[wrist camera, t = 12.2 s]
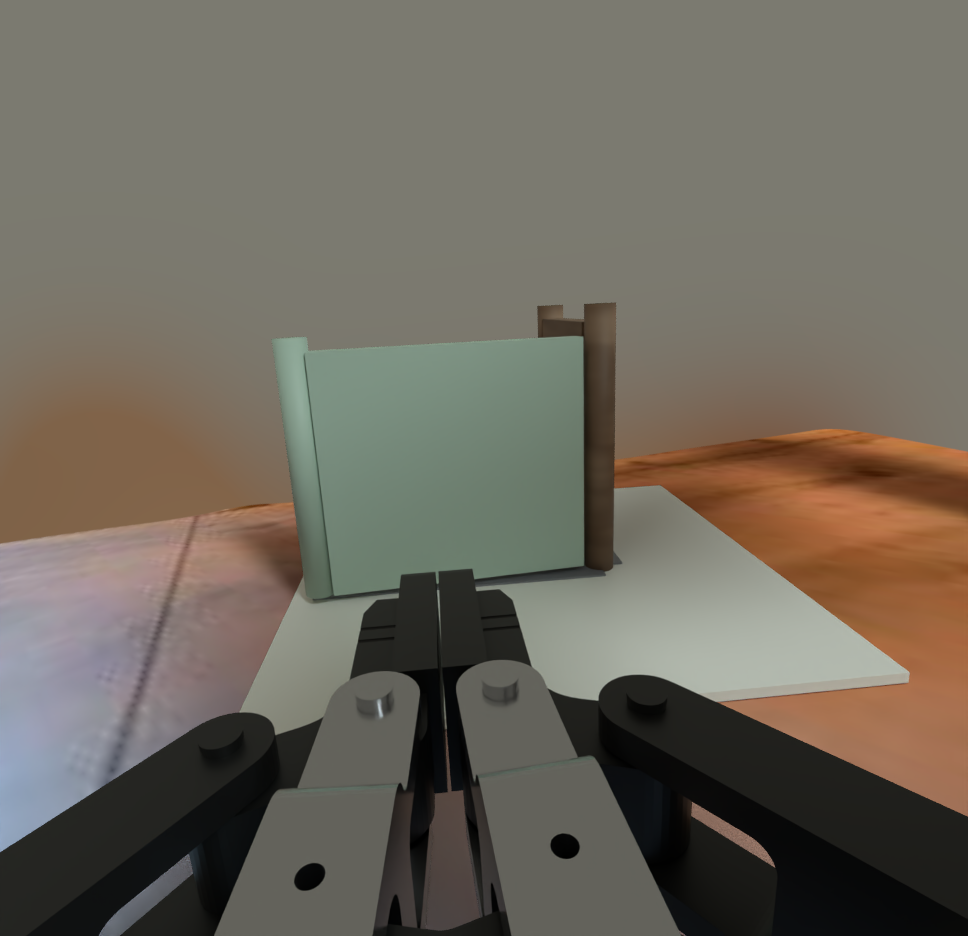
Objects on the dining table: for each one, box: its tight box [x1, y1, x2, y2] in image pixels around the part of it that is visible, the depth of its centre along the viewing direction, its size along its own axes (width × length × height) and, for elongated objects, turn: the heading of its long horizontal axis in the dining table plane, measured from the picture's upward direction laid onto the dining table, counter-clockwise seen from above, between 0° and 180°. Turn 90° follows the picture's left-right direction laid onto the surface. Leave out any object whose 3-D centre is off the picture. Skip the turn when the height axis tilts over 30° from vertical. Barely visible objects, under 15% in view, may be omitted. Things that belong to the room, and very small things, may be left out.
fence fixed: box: [538, 303, 616, 572], centre depth 34 cm, size 2×13×13 cm, turn 5°
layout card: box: [239, 485, 910, 735], centre depth 31 cm, size 23×23×1 cm
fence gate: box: [272, 336, 584, 599], centre depth 27 cm, size 13×1×12 cm, turn 100°
